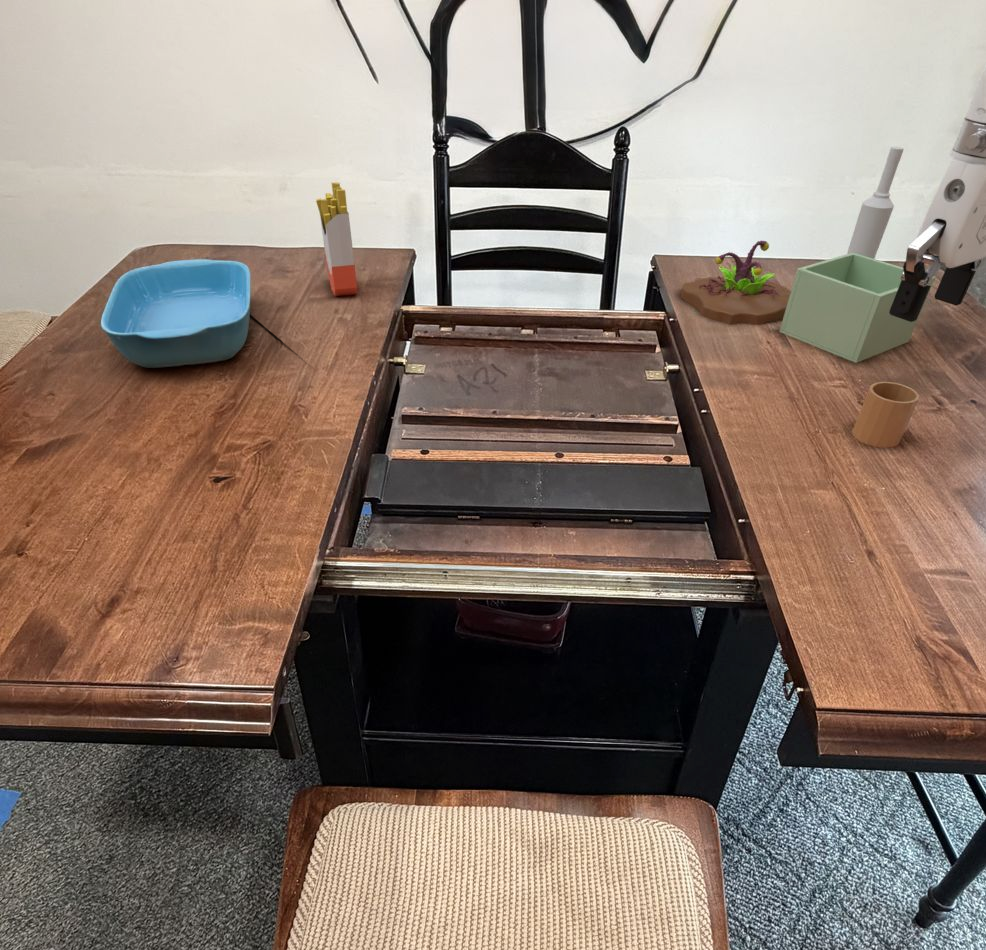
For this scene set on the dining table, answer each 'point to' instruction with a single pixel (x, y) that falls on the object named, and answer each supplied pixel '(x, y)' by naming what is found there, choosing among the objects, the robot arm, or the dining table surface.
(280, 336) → the dining table surface
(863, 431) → the paper cup
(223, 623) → the dining table surface
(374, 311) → the dining table surface
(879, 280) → the bin
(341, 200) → the french fries container
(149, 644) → the dining table surface
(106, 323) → the casserole dish
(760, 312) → the plant
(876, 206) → the bottle
